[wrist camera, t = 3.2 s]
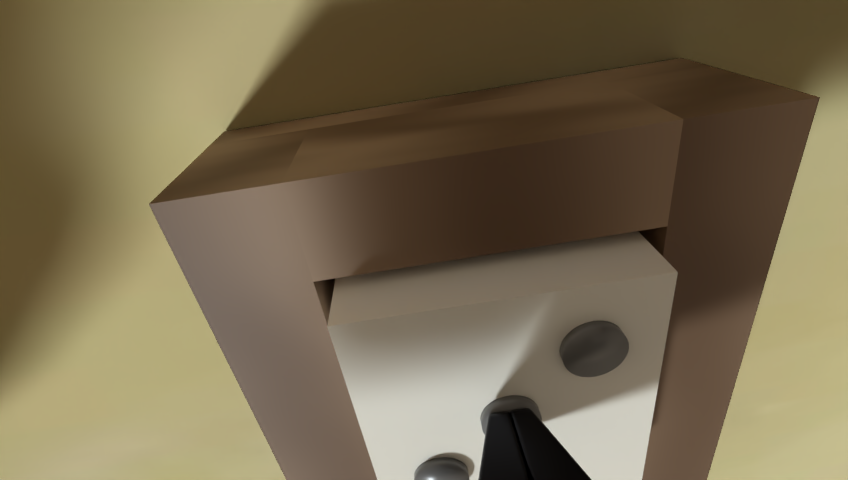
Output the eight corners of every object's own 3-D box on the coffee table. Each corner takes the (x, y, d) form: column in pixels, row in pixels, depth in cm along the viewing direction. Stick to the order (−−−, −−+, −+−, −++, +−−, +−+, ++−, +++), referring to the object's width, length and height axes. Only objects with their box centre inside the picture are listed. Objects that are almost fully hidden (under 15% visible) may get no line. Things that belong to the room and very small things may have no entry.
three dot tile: (389, 424, 13) (390, 526, 11) (340, 247, 10) (326, 334, 8) (597, 392, 13) (646, 488, 11) (612, 205, 10) (685, 278, 8)
